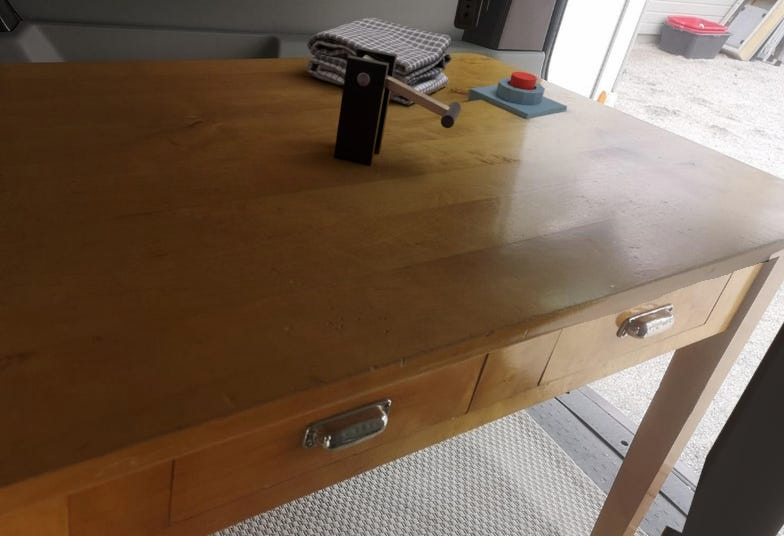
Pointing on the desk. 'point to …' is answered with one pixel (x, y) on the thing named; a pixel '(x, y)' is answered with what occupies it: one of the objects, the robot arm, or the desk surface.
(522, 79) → the button
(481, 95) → the control block
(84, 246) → the desk surface
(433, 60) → the towel
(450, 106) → the lever
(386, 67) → the switch bracket
